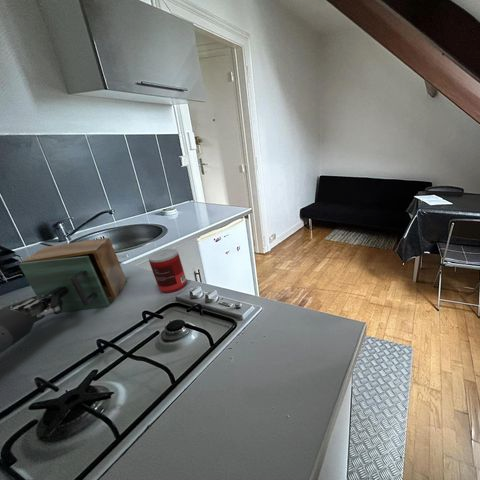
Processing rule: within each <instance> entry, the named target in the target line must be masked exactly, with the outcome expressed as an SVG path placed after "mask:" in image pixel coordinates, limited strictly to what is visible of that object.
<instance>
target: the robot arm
mask: <svg viewBox="0 0 480 480" xmlns="http://www.w3.org/2000/svg"><path fill="white" fill-rule="evenodd" d="M67 294H68V290H67V288H66V287H58V288H56V289H55V290H53V291H51V292H50V293H48V294H44V295H41V296H40V297H38V298H37V296H36V295H35V296H32V297H29V298H26V299H23V300H21V301H18V302H14V303H12V304H9V305H6V306H3V307H1V308H0V355H1V354H2V353H4V352H6V351H7V350H8V349H10V348H11V347H12V346H14V345H15V344H17V343H18V342H19V341H21V340H22V339H24V338H25V337H26V336H28V335H29V334H30V333H31V331H32V330H33V327H34V324H35V323H36V322H38V321H40V320H42V319H44V318H46V315H50V314H49V313H52V314H54V315H59V314H61V313H63V312H62V306H63V302H62V300H61V298H62V297H64V296H65V295H67Z"/></svg>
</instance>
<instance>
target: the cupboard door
mask: <svg viewBox="0 0 480 480" xmlns="http://www.w3.org/2000/svg"><path fill="white" fill-rule="evenodd" d="M18 266H19V268H20V269H21V272H22V273H23V275H24V277H25V278H26V280H27V282H28V284H29V286H30V287H31V289H32V290H33V291H32V292H34V294H35V296H37V298H38V297H40V296H41V295H44V294H48V293H50V292H51V291H53V290H55V289H56V288H58V287H66V288H67V290H68V294H67V295H65V296H64V297H62V298H61V300H62V302H63V306H62V312H61V313H67V312H75V311H77V312H78V311H84V310H92V309H93V310H94V309H100V308H107V307H108V308H109V307H110V306H111V303H110V300H108V299H107V296H106V294H105V292H104V290H103V288H102V285H101V283H100V281H99V279H98V276H97V274H96V272H95V270H94V267H93V265H92V263H91V261H90V259H89V256H82V257H72V258H62V259H53V260H43V261H33V262H23V263H22V262H20V263H18ZM51 314H53V313H49V314H48V315H51Z"/></svg>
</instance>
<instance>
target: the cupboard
mask: <svg viewBox="0 0 480 480" xmlns="http://www.w3.org/2000/svg"><path fill="white" fill-rule="evenodd" d="M82 256H89V259H90V261H91V263H92V265H93V267H94V270H95V272H96V274H97V276H98V279H99V281H100V283H101V285H102V288H103V290H104V292H105V294H106V296H107V299H108V301H110V300H113V299H117V297H119V294H120V293H121V292H122V290H123V288H124V287H125V285H126V284H127V282H128V281H127V278H126V276H125V273H124V271H123V268H122V266H121V263H120V261H119V259H118V256H117V254H116V251H115V249H114V246H113V243H112V241H111V239H110V237H102V238H96V239H90V240H89V239H88V240H82V241H77V242H76V241H75V242H70V243H63V244H57V245H48V246H44V247H42V248H40V249H39V250H38V251H36V252H34V253H33V254H31V255H29V256H28V257H26V258H25V259H23V260H22V261H21V263H23V262H33V261H43V260H53V259H62V258H72V257H82Z"/></svg>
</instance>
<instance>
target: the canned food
mask: <svg viewBox="0 0 480 480" xmlns="http://www.w3.org/2000/svg"><path fill="white" fill-rule="evenodd" d="M148 262H149V265H150V268H151V270H152V274H153V276H154V280H155V282H156V284H157V287H158V290H159V291H160V292H161V293H164V294H171V293H175V292H178V291H180V290H181V289H183V288H184V287H186V285H187V277H186V274H185V270H184V267H183V264H182V260H181V256H180V254H179V252H178V249H175V248H167V249H161V250H158V251H155V252H153V253H151V254H150V255H149V256H148Z"/></svg>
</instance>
